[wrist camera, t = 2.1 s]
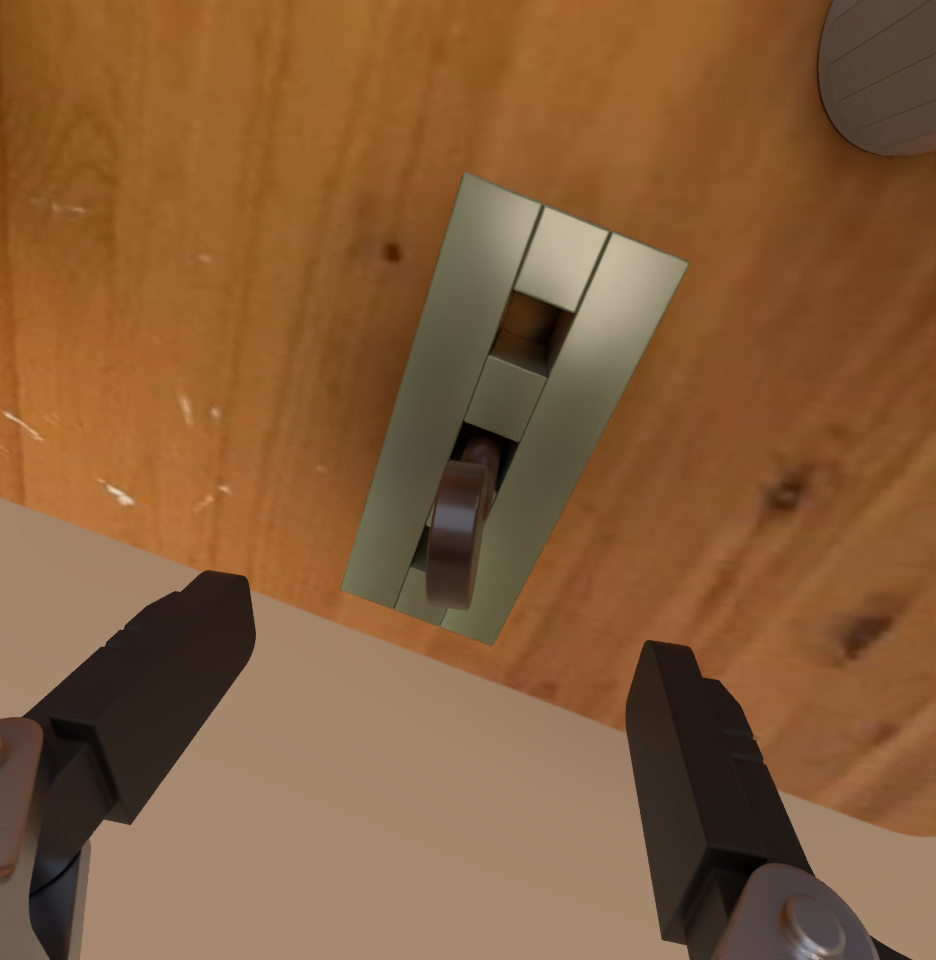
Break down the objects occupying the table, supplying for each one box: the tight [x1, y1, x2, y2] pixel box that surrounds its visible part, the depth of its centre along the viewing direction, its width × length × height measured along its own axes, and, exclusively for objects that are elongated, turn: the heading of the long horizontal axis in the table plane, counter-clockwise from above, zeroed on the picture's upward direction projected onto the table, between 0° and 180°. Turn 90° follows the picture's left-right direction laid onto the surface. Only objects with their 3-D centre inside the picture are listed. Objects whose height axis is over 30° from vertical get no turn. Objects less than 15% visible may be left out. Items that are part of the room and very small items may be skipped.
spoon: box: [425, 425, 504, 611], centre depth 18 cm, size 4×1×14 cm, turn 175°
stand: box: [340, 172, 690, 646], centre depth 21 cm, size 7×17×6 cm, turn 160°
